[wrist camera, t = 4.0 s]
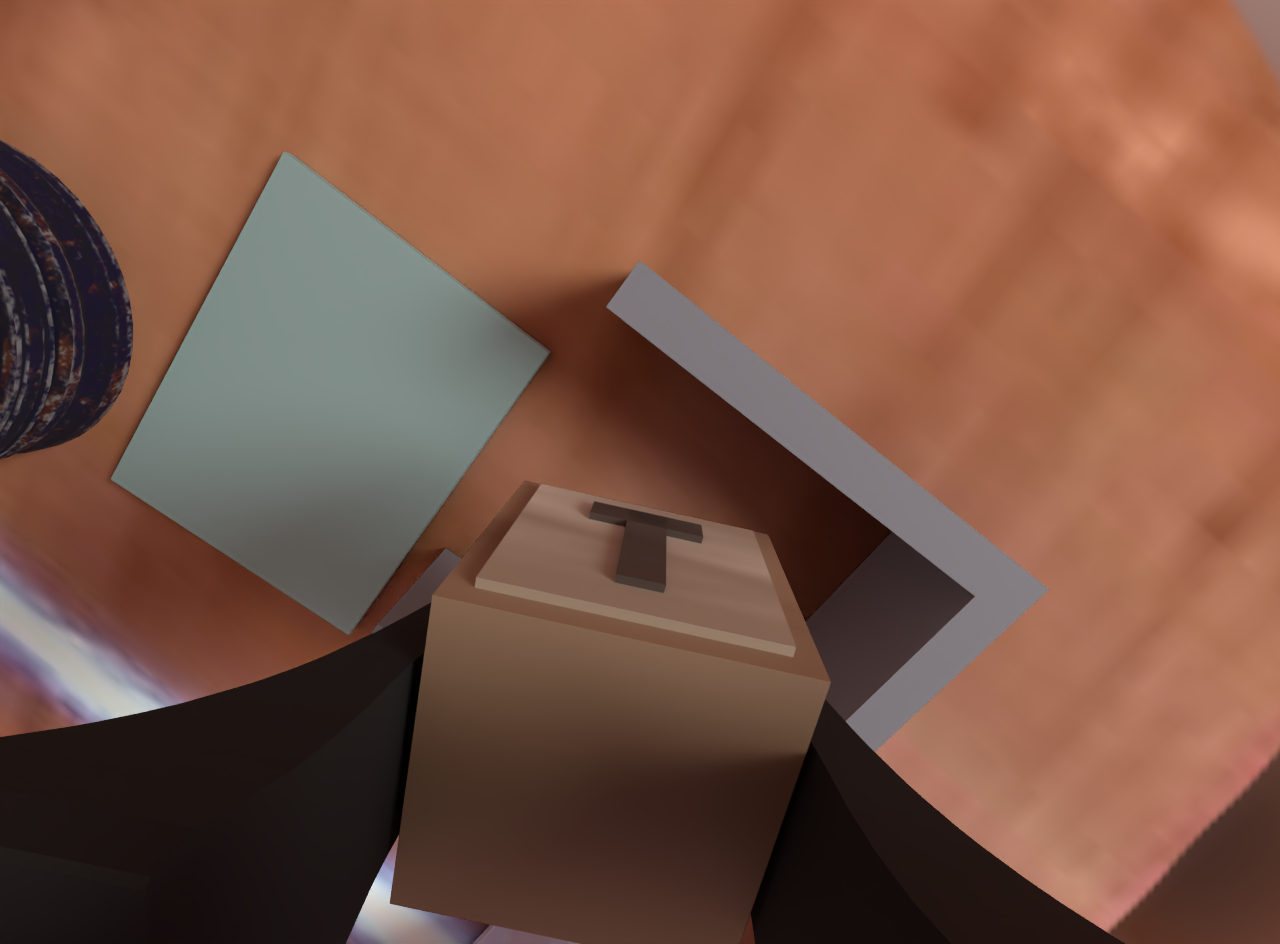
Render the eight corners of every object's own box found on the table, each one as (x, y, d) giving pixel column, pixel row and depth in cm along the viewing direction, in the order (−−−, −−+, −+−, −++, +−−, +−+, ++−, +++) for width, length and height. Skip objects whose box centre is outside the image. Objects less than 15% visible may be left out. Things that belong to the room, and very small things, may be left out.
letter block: (707, 739, 14) (728, 974, 9) (487, 691, 14) (389, 903, 9) (771, 522, 12) (838, 662, 8) (526, 467, 12) (435, 574, 7)
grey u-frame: (709, 766, 22) (720, 895, 18) (427, 574, 21) (354, 656, 16) (955, 517, 19) (1048, 589, 15) (647, 271, 18) (639, 260, 13)
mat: (354, 629, 21) (348, 635, 21) (121, 475, 20) (110, 479, 20) (551, 351, 19) (548, 352, 18) (292, 154, 17) (283, 151, 17)
